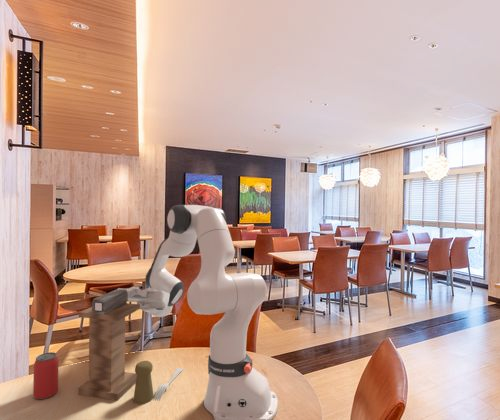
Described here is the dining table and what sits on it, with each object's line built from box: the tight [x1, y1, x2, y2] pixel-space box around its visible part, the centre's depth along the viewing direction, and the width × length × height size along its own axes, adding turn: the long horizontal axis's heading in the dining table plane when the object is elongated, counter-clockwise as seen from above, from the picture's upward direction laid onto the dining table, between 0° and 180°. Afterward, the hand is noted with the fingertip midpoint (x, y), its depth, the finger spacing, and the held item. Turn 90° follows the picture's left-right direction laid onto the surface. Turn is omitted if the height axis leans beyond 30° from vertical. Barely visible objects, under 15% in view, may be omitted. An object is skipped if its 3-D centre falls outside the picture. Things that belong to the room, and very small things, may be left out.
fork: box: [152, 367, 184, 402], centre depth 106 cm, size 3×21×3 cm, turn 170°
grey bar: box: [95, 285, 142, 311], centre depth 108 cm, size 2×22×2 cm, turn 168°
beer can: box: [32, 351, 59, 400], centre depth 99 cm, size 7×7×12 cm
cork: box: [132, 360, 155, 405], centre depth 97 cm, size 6×6×11 cm
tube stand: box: [77, 288, 141, 401], centre depth 103 cm, size 14×12×31 cm
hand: (132, 290), depth 115 cm, fingers closed on grey bar, 2 cm apart
